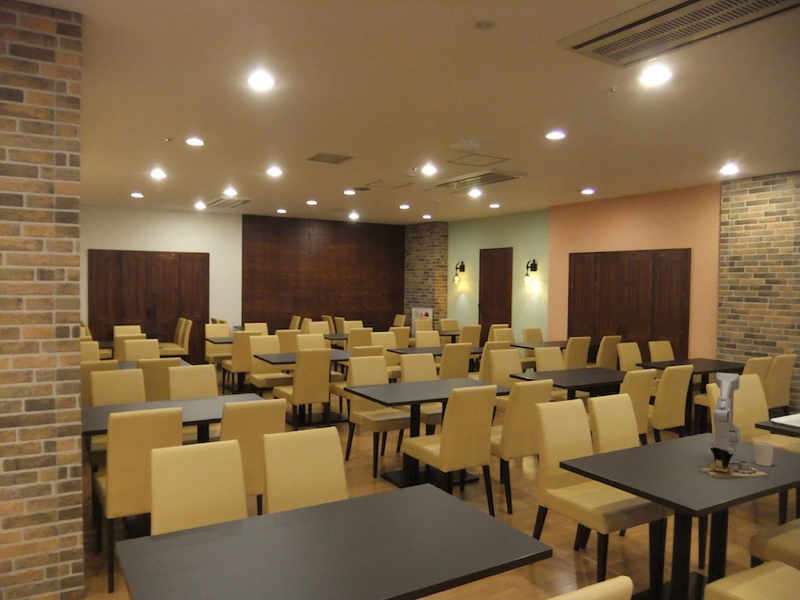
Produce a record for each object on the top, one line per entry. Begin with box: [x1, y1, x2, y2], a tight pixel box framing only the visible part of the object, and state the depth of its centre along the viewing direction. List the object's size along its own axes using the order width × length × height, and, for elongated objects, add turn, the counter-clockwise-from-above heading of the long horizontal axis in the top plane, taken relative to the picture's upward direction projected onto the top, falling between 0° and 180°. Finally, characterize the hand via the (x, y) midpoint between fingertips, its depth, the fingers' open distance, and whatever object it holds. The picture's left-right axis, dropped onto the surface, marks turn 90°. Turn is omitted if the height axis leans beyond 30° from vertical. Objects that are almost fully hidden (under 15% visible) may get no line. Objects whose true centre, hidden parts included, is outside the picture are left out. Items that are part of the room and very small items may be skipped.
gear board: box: [699, 459, 770, 479], centre depth 265 cm, size 12×25×6 cm, turn 95°
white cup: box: [753, 441, 774, 467], centre depth 280 cm, size 8×8×10 cm
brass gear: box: [709, 459, 734, 472], centre depth 264 cm, size 10×10×4 cm
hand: (721, 465), depth 265 cm, fingers closed on brass gear, 4 cm apart
